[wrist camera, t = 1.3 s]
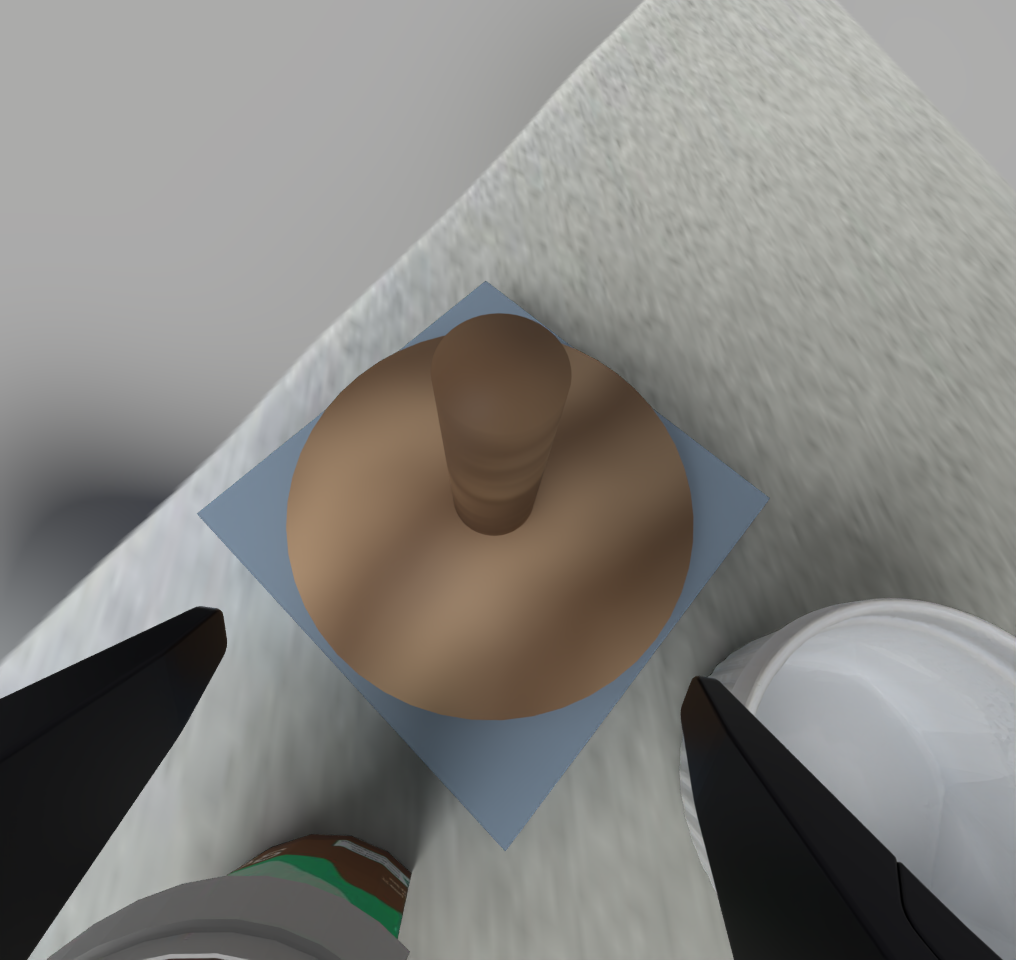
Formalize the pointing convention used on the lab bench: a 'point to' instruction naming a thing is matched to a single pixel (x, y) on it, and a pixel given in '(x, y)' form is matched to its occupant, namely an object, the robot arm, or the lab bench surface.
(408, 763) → the lab bench surface
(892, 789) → the ramekin
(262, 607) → the lab bench surface
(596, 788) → the lab bench surface
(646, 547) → the lid
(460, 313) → the mat
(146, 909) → the food container
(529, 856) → the lab bench surface
